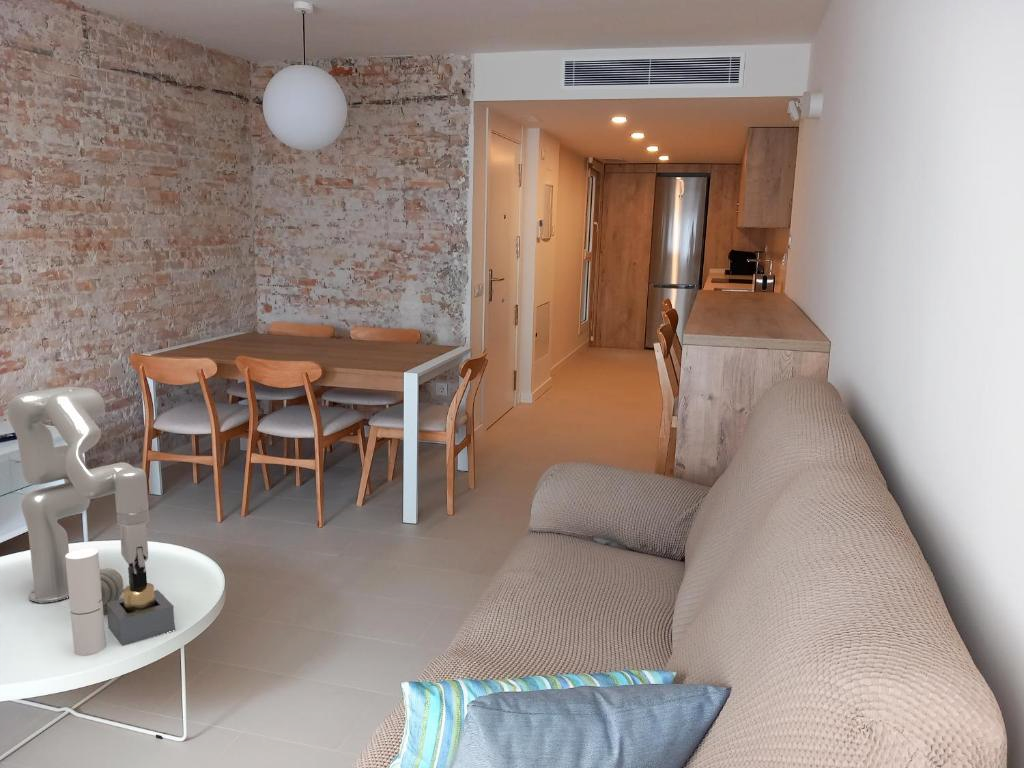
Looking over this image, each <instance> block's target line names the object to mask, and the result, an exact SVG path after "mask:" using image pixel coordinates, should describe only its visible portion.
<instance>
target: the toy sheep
mask: <svg viewBox="0 0 1024 768" xmlns="http://www.w3.org/2000/svg"><path fill="white" fill-rule="evenodd" d="M100 580H101V592H102V603H103V615H104V616H106V615H107V607H106V603H107V602H111V601H115V600H119V599H120V598H121V596H123V589H124V580H123V577H122V575H121V574H120V572H118V571H117V570H116V569H113V568H109V567H108V568H102V569H101V568H100Z"/></svg>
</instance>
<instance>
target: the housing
mask: <svg viewBox="0 0 1024 768" xmlns="http://www.w3.org/2000/svg"><path fill="white" fill-rule="evenodd" d="M154 596H155V607H151V608H147V609H143V610H140V611H136V612H132V613H128V614H127V612H126V611H125V610H124V601H123V598H119V600H115V601H111V602H107V603H106V617H107V628H108V629H109V631H110V632H111V633H112V635H113V636H114V638H115V639H116V640H117V642H118V643H119V644H120V645H121V646H122V647H123V646H126V645H130V644H133V643H138V642H141V641H144V640H148V639H152V638H154V636H155V637H158V636H162V635H164V634H163V633H165V634H167V632H169V631H172V632H174V631H173V630H175V631H176V628H175V627H176V625H175V615H174V614H175V613H174V605H173V604H172V602H171V601H170V600H169V599H167V598H166V597H165V596H164V594H162V592H160V590H159V589H154ZM169 633H170V632H169ZM161 634H162V635H161ZM157 635H158V636H157Z"/></svg>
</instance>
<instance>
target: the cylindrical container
mask: <svg viewBox="0 0 1024 768" xmlns="http://www.w3.org/2000/svg"><path fill="white" fill-rule="evenodd" d="M65 558H66V568H67V579H68V590H69V598H68V599H69V600H68V601H69V609H70V619H71V631H72V641H73V643H72V644H73V652H74V654H75V655H77V656H91V655H94V654H95V655H96V654H98V653H100V652H102V651H104V650H105V649H106V648H107V641H106V639H107V637H106V630H105V629H106V628H105V617H104V616H105V615H103V603H102V592H101V580H100V569H101V567H100V561H99V559H100V558H99V551H98V549H96V548H90V547H87V548H80V549H74V550H72V551H69V553H67V554H66V555H65Z"/></svg>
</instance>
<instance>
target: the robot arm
mask: <svg viewBox="0 0 1024 768" xmlns="http://www.w3.org/2000/svg"><path fill="white" fill-rule="evenodd" d="M105 406H106V404H105V401H104V398H103V397H102V395H101V394H100V393H99V392H98V391H96V390H95V389H93V388H91V387H78V386H64V387H57V388H55V387H54V388H51V389H50V388H49V389H43V390H34V391H28V392H24V393H20V394H18V395H16V396H14V397H12V398H11V400H9V403H8V406H7V416H8V420H9V423H10V425H11V427H12V429H13V432H14V434H15V436H16V439H17V444H18V452H19V458H20V464H21V470H22V475H23V477H24V480H25V481H26V483H27V484H29V485H32V486H33V485H34V486H37V485H45V484H48V483H52V482H58V481H61V480H62V481H64V483H60V484H55V485H51V486H47V487H43V488H39V489H36V490H34V491H32V492H29V493H28V494H26V495H25V496H24V497H23V499H22V500H21V510H22V514H23V517H24V521H25V523H26V529H27V533H28V542H29V550H30V558H31V559H30V560H31V571H32V580H33V589H32V590H31V591H30V592H29V593H28V599H30V600H32V601H35V602H51V601H56V602H58V601H57V600H61V599H64V600H66V599H65V598H67V597H69V590H68V579H67V568H66V558H65V555H66V554H67V553H69V552H70V548H69V540H68V533H67V530H66V529H65V528H64V527H63V526H62V525H61V524H60V523H58V520H61V519H63V518H66V517H70V516H71V517H72V516H74V515H77V514H81V513H83V512H85V511H87V509H88V508H89V506H90V502H91V499H92V500H93V499H99V498H102V497H105V496H109V495H113V494H114V498H115V499H114V500H115V512H116V522H117V525H118V526H120V552H121V556H122V557H123V560H125V562H126V563H127V564H128V567H129V566H131V565H133V571H134V573H132V575H133V587H134V588H139V587H144V586H147V583H148V580H147V579H148V577H147V570H146V568H147V567H146V562H147V561H148V560H149V545H148V535H147V528H146V527H147V526H146V524H147V523H148V522H150V511H149V498H148V497H149V496H148V495H149V494H148V483H147V474H146V471H145V470H144V469H143V468H140V467H134V466H133V465H131V464H130V463H127V462H125V461H120V462H116V463H112V464H107V465H103V466H99V467H94V468H91V469H89V468H87V466H86V462H85V461H86V460H85V457H84V455H83V454H84V453H86V452H88V451H89V450H90V449H92V448H93V447H94V446H96V444H98V442H99V441H100V439H101V438H102V437H101V436H102V431H101V429H100V428H99V426H98V425H97V424H96V422H95V420H93V419H96V418H100V417H101V416H102V415H103V414H104V412H105V409H106V407H105ZM45 421H51V423H52V424H53V427H55V429H56V430H57V432H58V433H59V434H60V436H61V437H62V439H63V440H64V442H65V443H66V444H64V445H60V446H54V445H55V444H54V439H53V434H52V431H51V429H49V427H47V425H46V424H45V423H44V422H45ZM136 564H138V565H137V567H136ZM67 599H68V598H67ZM30 600H29V601H30ZM32 601H31V602H32ZM61 601H62V600H61ZM35 602H34V603H35ZM51 603H52V602H51Z"/></svg>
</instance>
